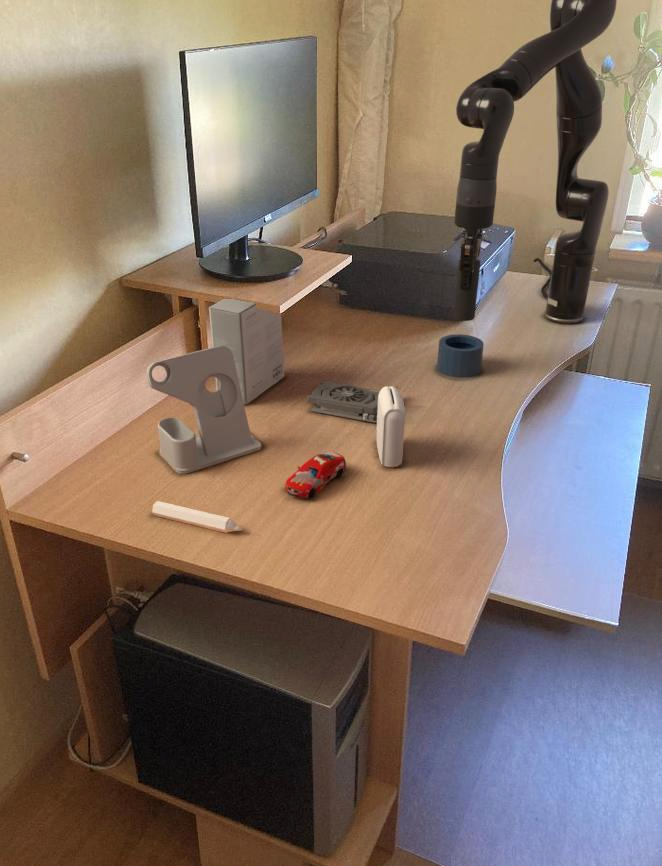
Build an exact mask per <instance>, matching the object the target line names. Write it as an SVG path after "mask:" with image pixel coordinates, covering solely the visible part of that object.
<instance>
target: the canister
mask: <svg viewBox="0 0 662 866" xmlns="http://www.w3.org/2000/svg"><path fill="white" fill-rule="evenodd" d="M460 260H461V259H460V258H459V259H458V261H457V262H458V264H457V274H456V283H455V294H454V295H455V297H454V307H453V318H454V319H455V320H456V321H457V320H458V321H460V322H461V321H462V322H468V321H473V320H475V317H476V309H477V308H476V307H477V297H478V289H479V280H480V271H481V259H479V258H478V259H477V260H476V261H475V263H474V271H473V276H472V286H471V289H470V290H469V291H468V290H461V289H460V283H461V273H462V272H461V271H460V269H459V268H460ZM464 265H466V266H470V262H465V264H464Z"/></svg>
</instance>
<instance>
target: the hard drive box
mask: <svg viewBox="0 0 662 866" xmlns="http://www.w3.org/2000/svg"><path fill="white" fill-rule="evenodd" d="M276 291H277V290H276ZM256 306H257V305H256V303H254V302H246V301H240V300H235V299H225V298H223V299H221V300H219V301H217V302H216V303H214V304H212V305H210V306H209V307H208V313H209V323H210V334H211V344H212V345H211V346H212V347H216V346H225V347H227V348H229V349H230V350H231V351H232V354H233V357H234V362H235V366H236V371H237V375H238V380H239V384H240V389H241V393H242V398H243V402H244V406H245V405H248V404H249V403H250V402H252V401H254V400H255V399H257V398H258V397H259V396H260V395H262V394H264V392H266V391H267V390H268V389H269V388H270V389H271V387H272V386H275V384H277V383H278V382H279V381H281V380H282V379H284V377H285V366H284V365H285V364H284V345H283V343H284V342H283V325H282V312H281V313H280V314H276V313H272V312H269V311H264V310H259V309H258V308H257V307H256ZM214 378H215V387H216V391H217V390H218V389H219V387H220V382H219V380H218V379H217V378H216V377H214Z"/></svg>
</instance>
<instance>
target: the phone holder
mask: <svg viewBox="0 0 662 866" xmlns="http://www.w3.org/2000/svg"><path fill="white" fill-rule="evenodd" d="M156 367H162V368H163V369H164V370H165V378H164V379H163V380H162V381H158V380H156V379H154V377H153V370H154V369H155V368H156ZM145 376H146V380H147V384H148V386H149V387H150V388H151V389H153V390H155V391H157V392H160V393H163V394H165V395H168V396H170V397H173V398H175V399H176V400H180V401H182V402H185V403H187V404H189V405H190V406H191V407H192V409H193V413H194V417H195V422H196V425H197V429H198V434H199V435H196V433H195V431H194V430H192V429H191V427H189V426H188V425H187V424H186V423H185V422H184V421H183V420H181V419H180V418H177V417H166V418H163V419H161V420H160V421H159V422H157V433H158V440H159V449H158V450H159V451H158V452H159V456H161V458H162V459H163V460H164V461H165V462H166V463H167V465H169V466H170V467H171V468H172V469H173V470H174V471H175V473H177V474H180V475H186V474H190V473H192V472H196V471H199V470H202V469H205V468H209V467H211V466H214V465H217V464H220V463H221V464H222V463H225V462H227V461H229V460H233V459H236V458H240V457H243V456H246V455H249V454H251V453H256V452H258V451H260V450H261V449H262V443H261V441H259V439H257V438H256V437H254V436H253V435H252V434H251V430H250V426H249V421H248V416H247V412H246V408H245V405H244V402H243V398H242V393H241V389H240V384H239V380H238V375H237V371H236V366H235V362H234V357H233V354H232V351H231V350H230V349H229V348H227V347H225V346H216V347H213V346H212V347H209V348H205V349H201V350H196V351H193V352H188V353H185V354H181V355H177V356H173V357H169V358H168V357H167V358H165V359H161V360H157V361H153V362H151V363H150V364H148V366H147V368H146V372H145ZM212 377H213V378H215V377H216V378H217V379H218V380H219V382H220V387H219V389H218V390H217V389H216V391H213V392H212V391H210V390H208V389H207V387H206V381H208V380H209V379H210V378H212ZM216 378H215V379H216Z"/></svg>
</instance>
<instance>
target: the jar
mask: <svg viewBox="0 0 662 866" xmlns="http://www.w3.org/2000/svg"><path fill="white" fill-rule="evenodd" d="M484 345H485V344H484V341H483V340H482V339H481V338H479V337H477V336H474V335H471V334H470V335H469V334H462V333H461V334H457V333H455V334H448V335H445V336H443V337H441V338H440V339H439V340H438V350H437V359H436V360H437V362H436V369H437V371H438V372H439V373H440V374H442V375H443V376H446V377H451V378H458V379H464V378H472V377H475V376H477V375H479V373H480V372H481V370H482V362H483V354H484Z"/></svg>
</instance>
